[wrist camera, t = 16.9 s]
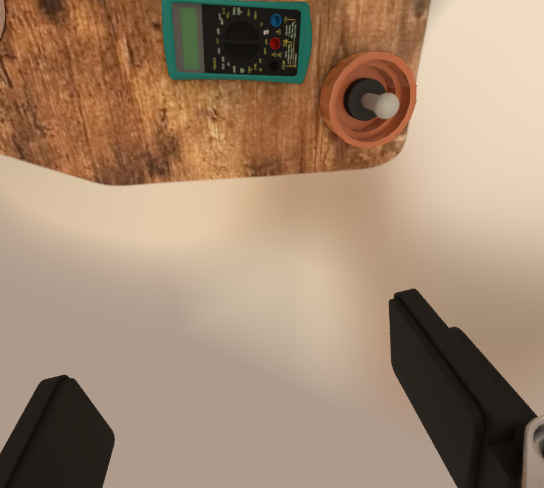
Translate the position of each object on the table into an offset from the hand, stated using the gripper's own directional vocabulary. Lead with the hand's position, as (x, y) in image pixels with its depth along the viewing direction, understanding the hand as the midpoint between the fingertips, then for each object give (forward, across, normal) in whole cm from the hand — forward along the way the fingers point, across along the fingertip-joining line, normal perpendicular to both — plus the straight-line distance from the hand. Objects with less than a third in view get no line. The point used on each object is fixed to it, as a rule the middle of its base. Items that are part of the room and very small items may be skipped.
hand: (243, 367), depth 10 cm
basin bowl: (+35, -16, 0) cm, 39 cm away
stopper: (+34, -16, 0) cm, 38 cm away
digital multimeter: (+36, -4, -9) cm, 37 cm away
